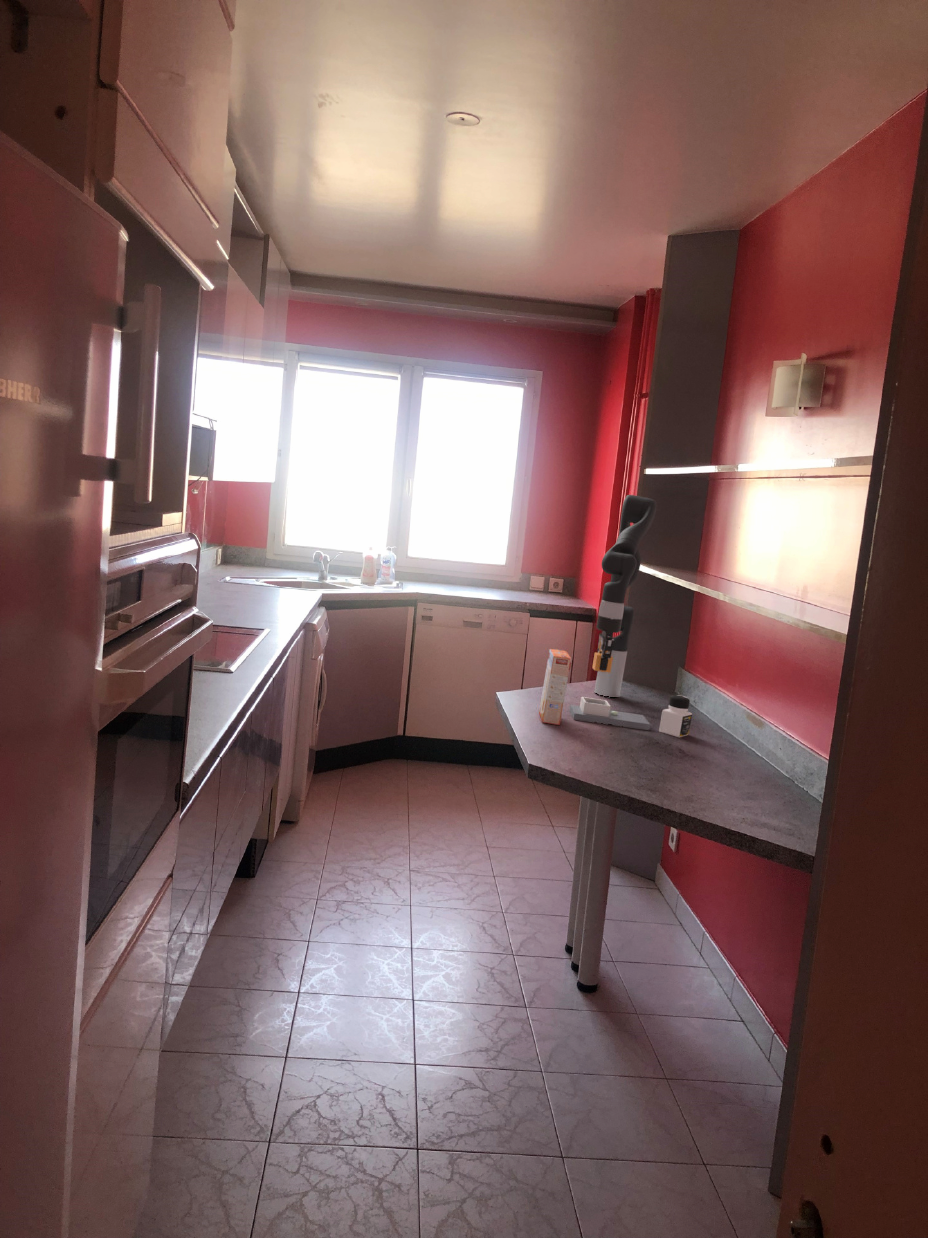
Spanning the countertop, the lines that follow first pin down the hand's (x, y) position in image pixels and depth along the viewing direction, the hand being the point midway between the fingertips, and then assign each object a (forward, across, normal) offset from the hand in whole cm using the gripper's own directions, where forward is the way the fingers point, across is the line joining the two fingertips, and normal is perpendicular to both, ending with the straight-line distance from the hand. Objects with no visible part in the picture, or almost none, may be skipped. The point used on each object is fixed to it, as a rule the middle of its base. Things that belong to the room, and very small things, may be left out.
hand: (601, 668), depth 285 cm
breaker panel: (+16, 0, +5) cm, 17 cm away
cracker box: (+17, +10, -15) cm, 24 cm away
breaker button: (+13, 0, 0) cm, 13 cm away
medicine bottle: (+17, +5, +25) cm, 30 cm away
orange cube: (+1, 0, 0) cm, 1 cm away
